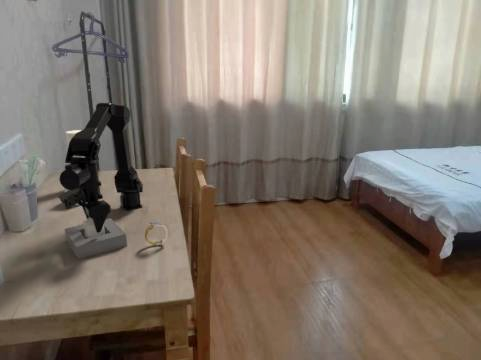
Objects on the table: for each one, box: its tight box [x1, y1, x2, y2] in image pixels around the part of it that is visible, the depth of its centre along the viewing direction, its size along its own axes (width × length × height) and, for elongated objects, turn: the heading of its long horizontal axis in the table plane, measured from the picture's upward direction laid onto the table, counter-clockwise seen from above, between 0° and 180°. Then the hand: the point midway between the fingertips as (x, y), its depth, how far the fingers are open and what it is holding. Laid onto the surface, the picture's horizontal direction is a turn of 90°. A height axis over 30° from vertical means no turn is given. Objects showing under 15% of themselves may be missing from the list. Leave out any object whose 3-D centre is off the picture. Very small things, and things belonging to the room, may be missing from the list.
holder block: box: [64, 217, 128, 260], centre depth 121 cm, size 14×14×4 cm
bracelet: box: [144, 220, 169, 247], centre depth 120 cm, size 7×3×8 cm, turn 103°
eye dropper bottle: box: [83, 217, 105, 239], centre depth 120 cm, size 4×6×12 cm
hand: (94, 226), depth 120 cm, fingers open, 9 cm apart
